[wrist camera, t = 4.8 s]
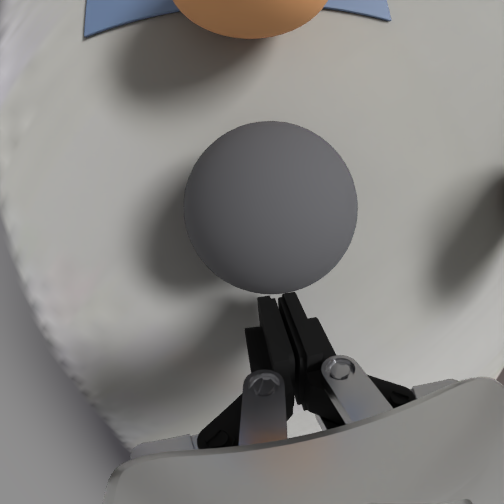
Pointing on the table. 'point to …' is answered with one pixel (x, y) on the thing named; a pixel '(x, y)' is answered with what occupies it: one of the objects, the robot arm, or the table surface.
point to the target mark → (158, 3)
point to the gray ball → (270, 207)
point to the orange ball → (250, 16)
